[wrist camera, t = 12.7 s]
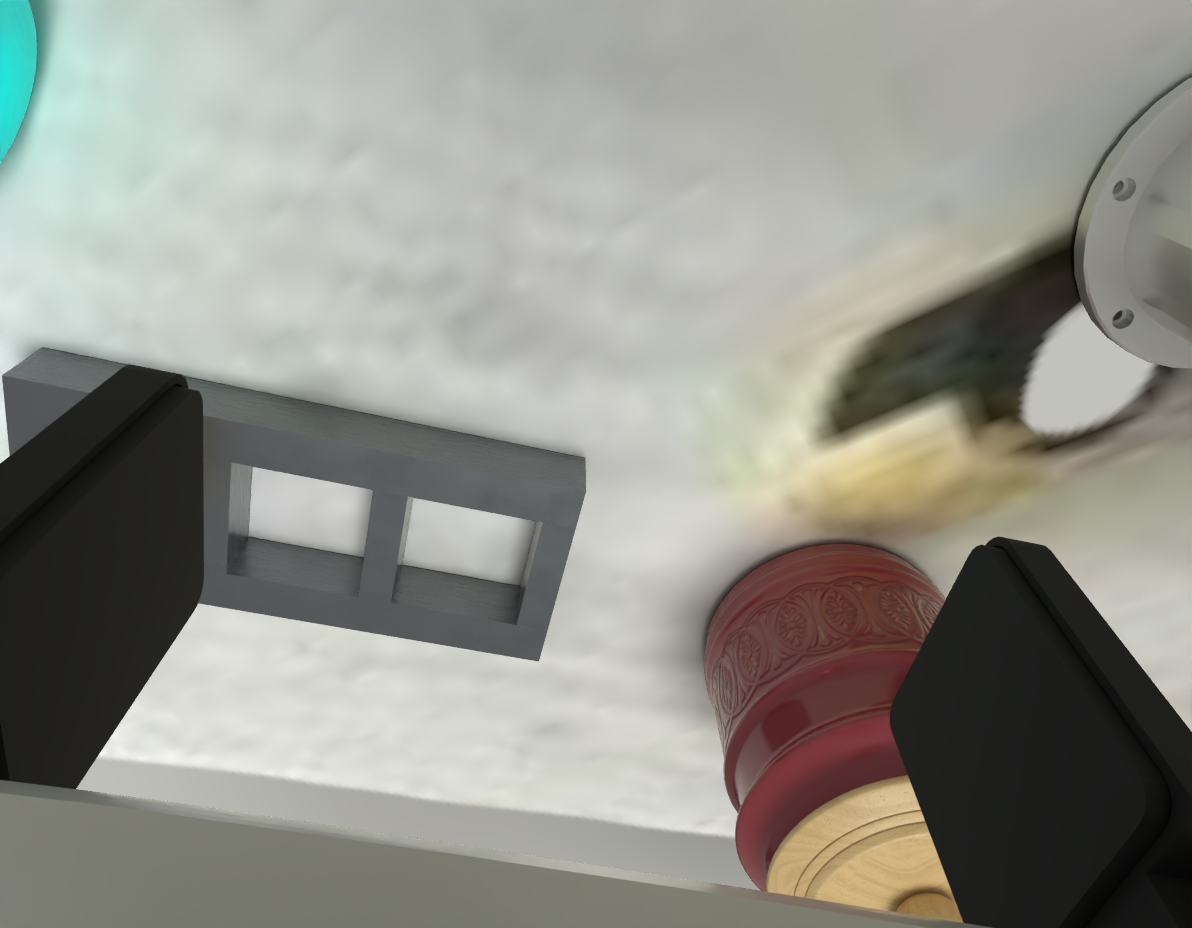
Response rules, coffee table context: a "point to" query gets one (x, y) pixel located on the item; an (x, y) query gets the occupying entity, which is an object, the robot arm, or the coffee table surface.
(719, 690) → the canister
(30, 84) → the donuts
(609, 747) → the coffee table surface
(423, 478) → the grey flat slotted block
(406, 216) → the coffee table surface
